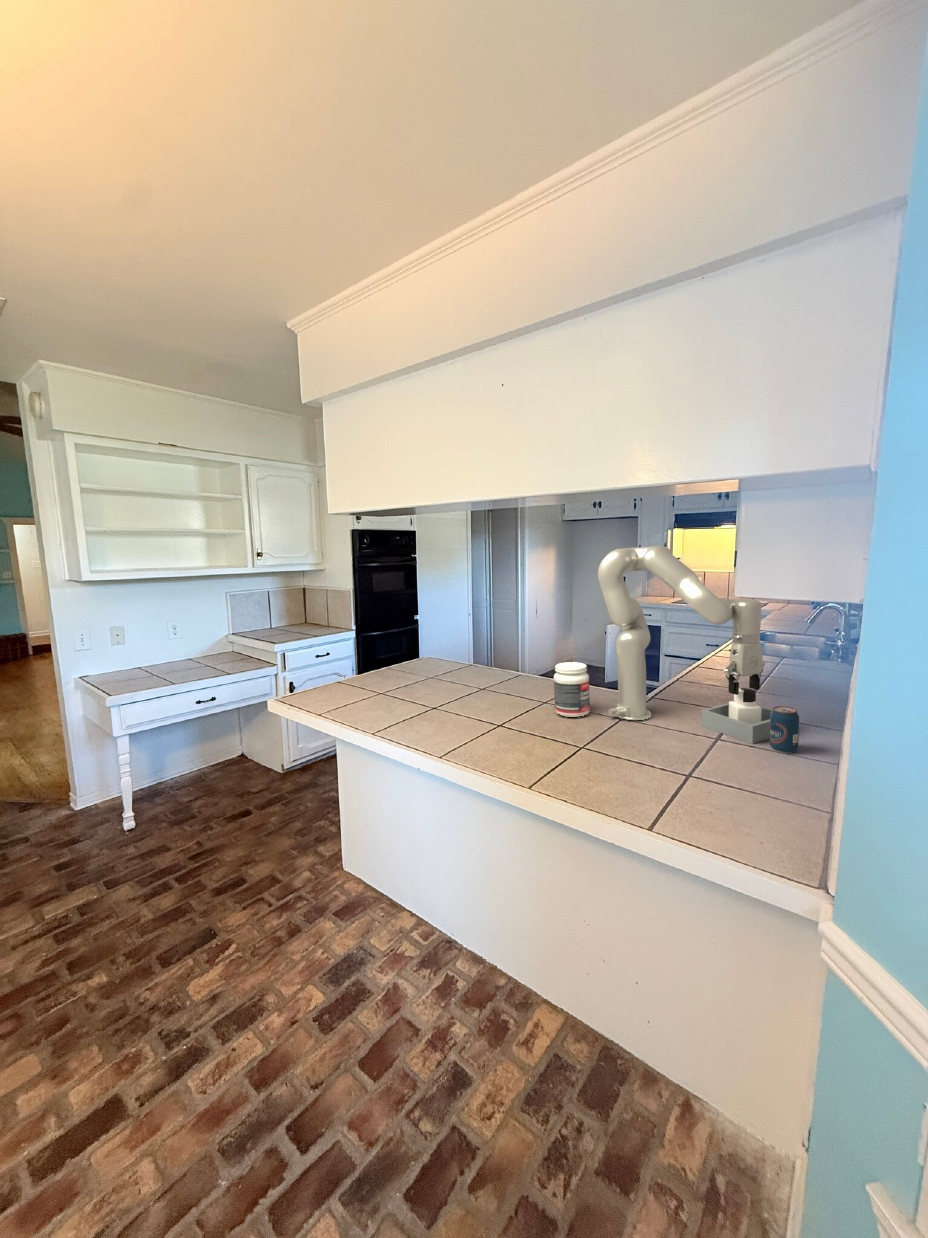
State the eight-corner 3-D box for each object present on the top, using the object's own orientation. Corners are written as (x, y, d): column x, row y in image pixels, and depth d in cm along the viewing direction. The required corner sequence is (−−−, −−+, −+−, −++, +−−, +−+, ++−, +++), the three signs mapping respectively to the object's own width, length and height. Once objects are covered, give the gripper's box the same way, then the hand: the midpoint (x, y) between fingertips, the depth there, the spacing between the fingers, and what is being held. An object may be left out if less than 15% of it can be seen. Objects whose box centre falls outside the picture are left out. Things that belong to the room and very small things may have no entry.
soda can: (764, 747, 144) (764, 708, 142) (780, 742, 146) (781, 704, 145) (786, 756, 137) (787, 715, 136) (804, 751, 140) (805, 710, 138)
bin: (752, 744, 147) (752, 726, 146) (701, 726, 163) (701, 710, 162) (791, 731, 154) (791, 714, 153) (738, 715, 170) (738, 700, 169)
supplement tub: (591, 719, 176) (590, 669, 173) (555, 719, 178) (553, 670, 175) (588, 707, 188) (587, 661, 186) (554, 708, 190) (552, 662, 188)
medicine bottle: (751, 721, 161) (752, 686, 160) (761, 729, 154) (762, 692, 153) (728, 721, 162) (728, 686, 161) (737, 729, 155) (737, 693, 154)
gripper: (738, 644, 147) (736, 698, 150) (775, 637, 154) (773, 689, 157) (716, 640, 154) (714, 692, 157) (753, 633, 161) (751, 684, 164)
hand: (744, 691), depth 157 cm, fingers open, 9 cm apart
